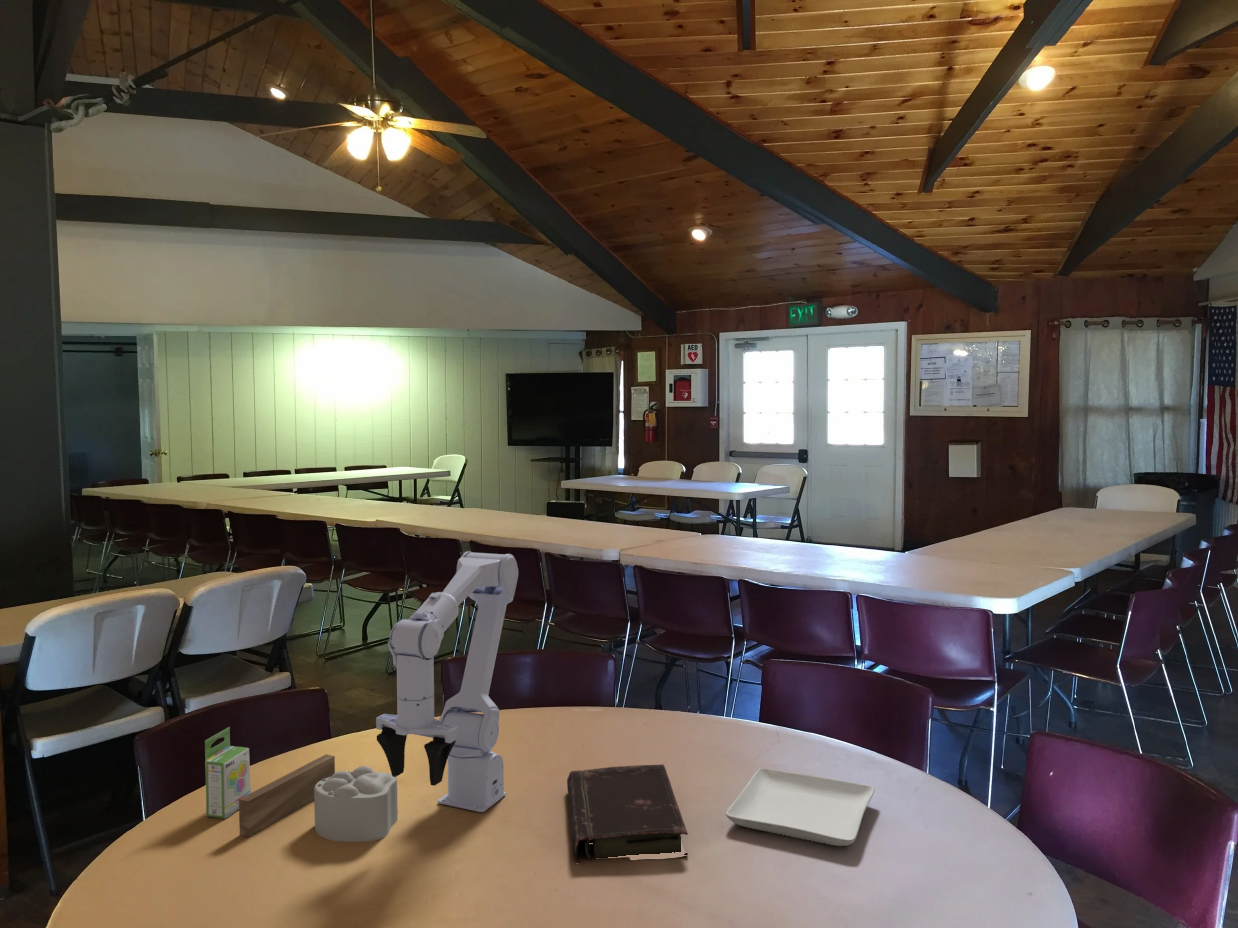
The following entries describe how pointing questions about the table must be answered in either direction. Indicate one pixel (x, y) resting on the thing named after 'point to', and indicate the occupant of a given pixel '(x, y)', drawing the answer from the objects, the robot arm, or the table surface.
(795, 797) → the salad plate
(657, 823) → the diary
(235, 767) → the ink box
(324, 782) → the lumpy-topped squat cylinder
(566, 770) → the table surface
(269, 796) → the walnut board
